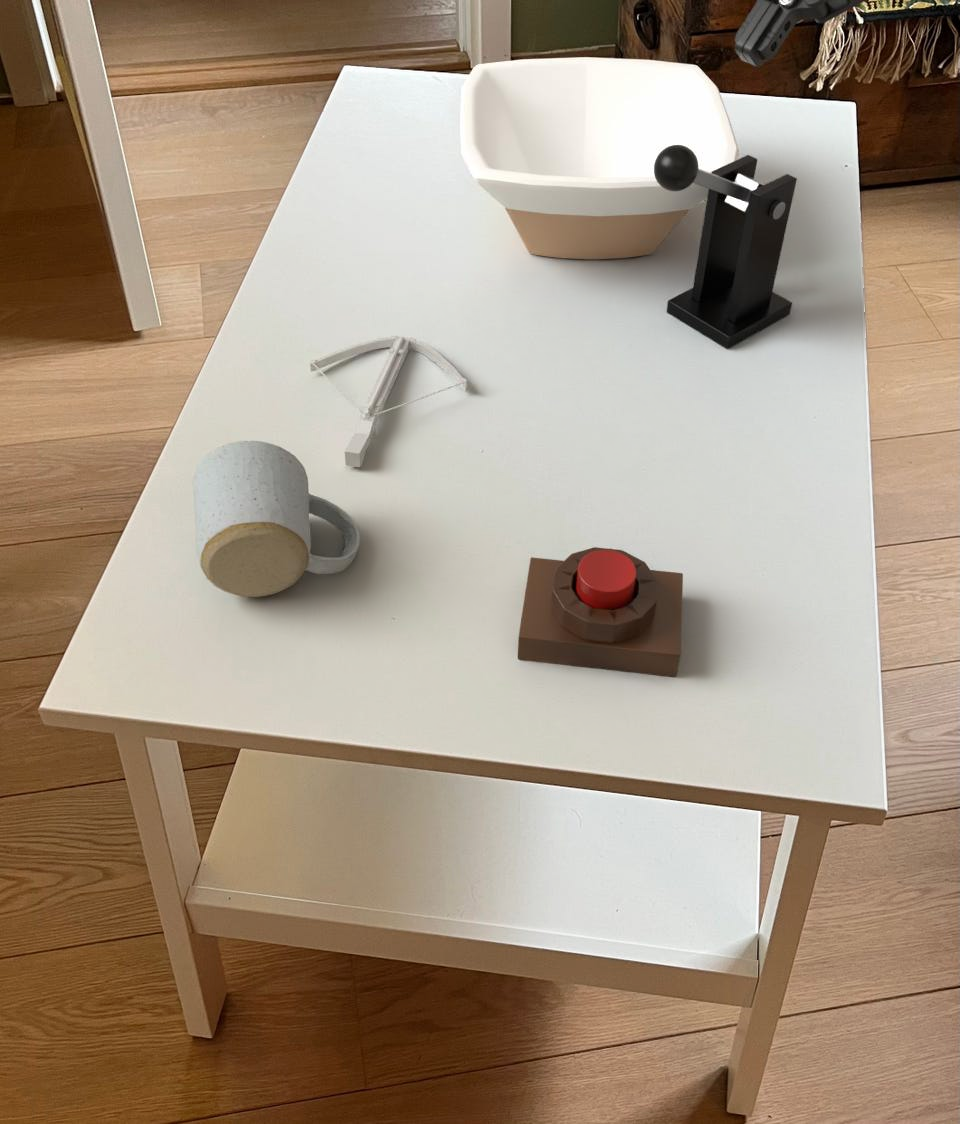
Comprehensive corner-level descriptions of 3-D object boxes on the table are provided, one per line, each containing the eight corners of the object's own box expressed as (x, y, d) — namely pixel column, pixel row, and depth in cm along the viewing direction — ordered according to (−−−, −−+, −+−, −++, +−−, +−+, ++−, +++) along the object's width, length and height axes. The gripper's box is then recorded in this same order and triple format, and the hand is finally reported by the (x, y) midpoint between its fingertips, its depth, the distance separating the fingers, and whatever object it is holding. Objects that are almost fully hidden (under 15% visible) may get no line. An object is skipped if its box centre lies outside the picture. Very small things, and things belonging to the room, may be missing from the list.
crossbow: (331, 343, 99) (329, 322, 98) (478, 362, 98) (479, 340, 96) (270, 456, 88) (267, 434, 86) (437, 479, 86) (436, 457, 85)
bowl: (460, 296, 103) (459, 184, 95) (461, 160, 120) (460, 55, 112) (732, 297, 103) (753, 185, 96) (694, 160, 120) (709, 56, 113)
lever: (670, 193, 84) (691, 150, 83) (638, 176, 86) (657, 133, 84) (764, 226, 95) (784, 187, 93) (734, 210, 96) (752, 172, 95)
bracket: (727, 349, 98) (754, 209, 89) (666, 312, 102) (686, 173, 92) (790, 314, 102) (822, 175, 92) (728, 279, 105) (753, 143, 96)
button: (634, 571, 75) (637, 552, 74) (632, 613, 73) (635, 594, 72) (578, 565, 76) (580, 546, 74) (573, 607, 73) (575, 588, 72)
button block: (678, 595, 79) (686, 553, 76) (676, 677, 74) (684, 635, 71) (529, 579, 80) (531, 537, 77) (517, 659, 75) (519, 617, 72)
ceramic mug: (205, 612, 77) (188, 528, 72) (201, 526, 83) (185, 442, 77) (367, 592, 79) (362, 508, 73) (353, 509, 84) (347, 425, 79)
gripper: (801, -230, 81) (656, 0, 84) (969, -187, 74) (804, 62, 77) (833, -156, 87) (696, 55, 90) (990, -111, 80) (836, 117, 83)
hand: (746, 58), depth 84 cm, fingers closed
